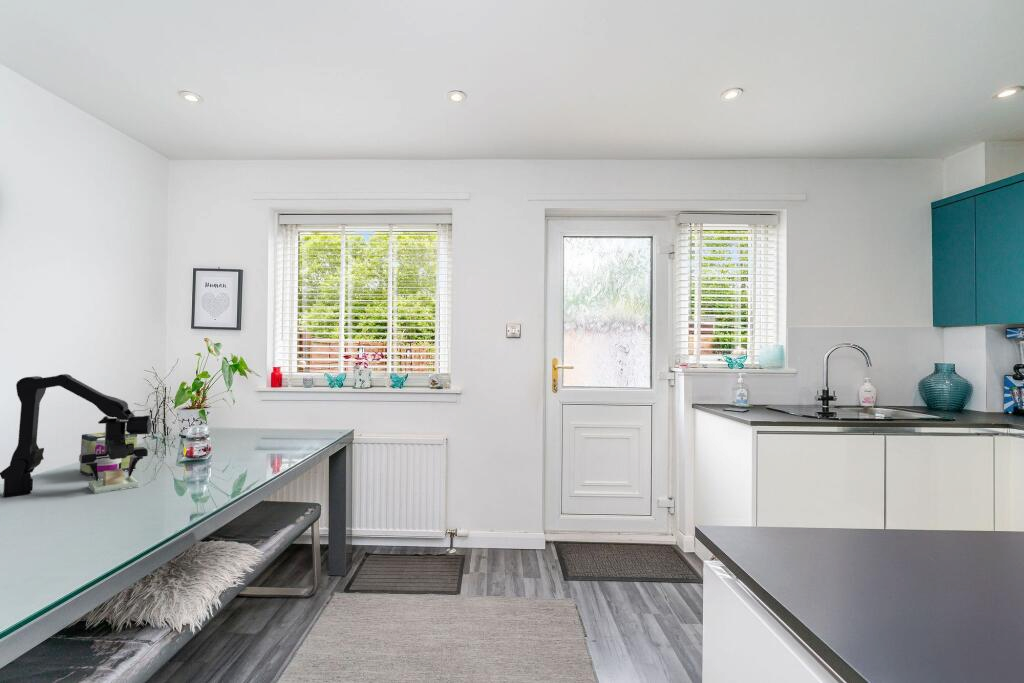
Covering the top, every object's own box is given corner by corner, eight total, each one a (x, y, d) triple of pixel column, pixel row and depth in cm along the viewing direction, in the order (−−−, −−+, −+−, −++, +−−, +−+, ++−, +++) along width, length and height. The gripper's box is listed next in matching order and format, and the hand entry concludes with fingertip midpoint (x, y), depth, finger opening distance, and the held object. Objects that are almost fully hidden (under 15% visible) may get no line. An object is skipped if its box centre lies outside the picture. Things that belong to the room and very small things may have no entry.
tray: (94, 493, 169) (94, 488, 169) (88, 486, 177) (88, 481, 177) (137, 487, 178) (137, 481, 178) (130, 481, 186) (130, 475, 186)
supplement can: (108, 480, 186) (110, 440, 186) (87, 479, 186) (89, 440, 186) (126, 475, 194) (127, 437, 194) (105, 474, 194) (107, 436, 194)
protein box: (136, 470, 203) (138, 432, 203) (88, 477, 189) (90, 437, 190) (125, 466, 208) (127, 429, 208) (78, 473, 195) (80, 434, 195)
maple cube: (105, 487, 174) (106, 473, 174) (102, 484, 177) (103, 470, 177) (123, 485, 177) (123, 471, 177) (120, 482, 181) (120, 468, 181)
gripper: (85, 441, 165) (82, 488, 165) (152, 435, 179) (150, 478, 179) (79, 437, 173) (77, 481, 172) (144, 431, 187) (143, 473, 186)
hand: (113, 478), depth 177 cm, fingers open, 9 cm apart
